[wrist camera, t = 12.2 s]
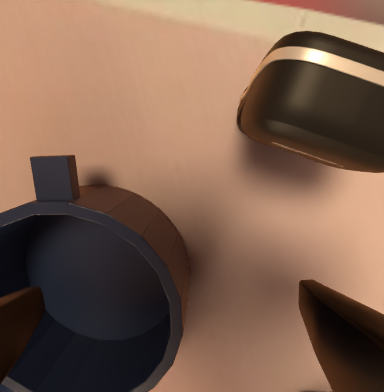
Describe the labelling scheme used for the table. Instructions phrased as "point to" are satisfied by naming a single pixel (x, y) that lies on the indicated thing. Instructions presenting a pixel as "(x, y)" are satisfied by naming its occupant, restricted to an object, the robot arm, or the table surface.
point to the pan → (94, 284)
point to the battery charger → (319, 101)
